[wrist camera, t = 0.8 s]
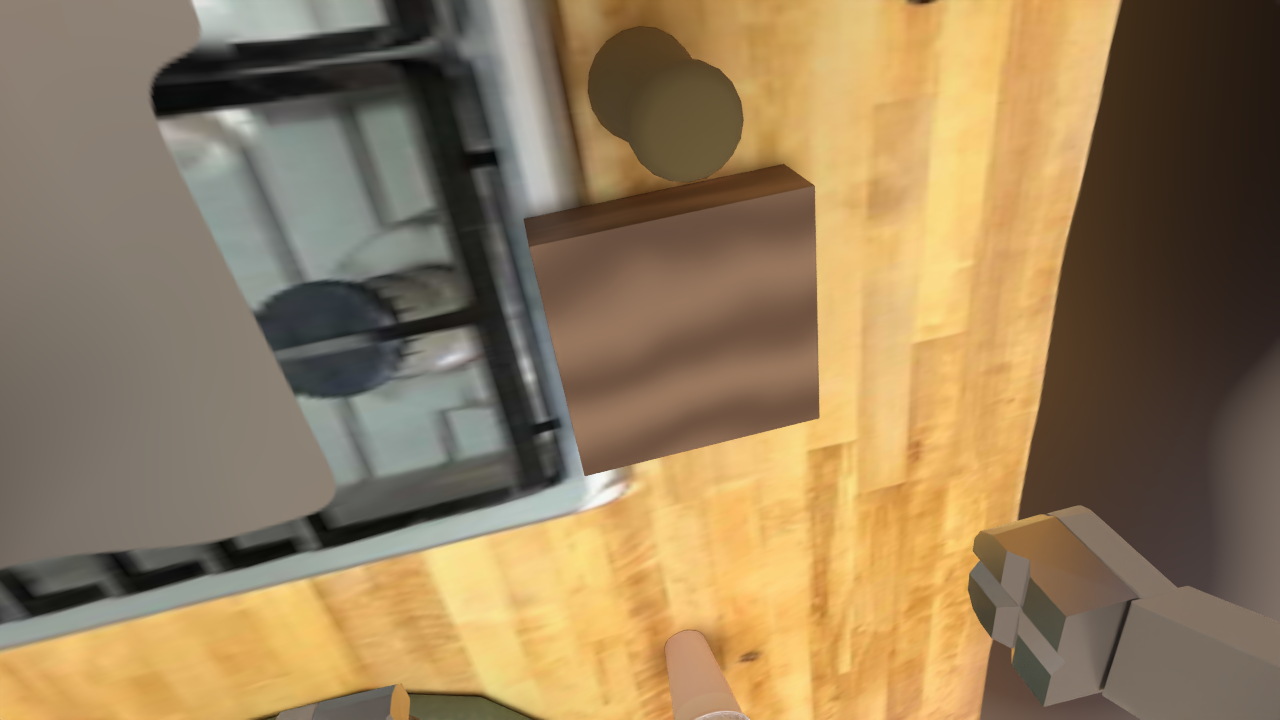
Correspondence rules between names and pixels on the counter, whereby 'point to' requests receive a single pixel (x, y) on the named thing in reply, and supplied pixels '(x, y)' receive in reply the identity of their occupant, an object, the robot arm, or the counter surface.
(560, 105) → the counter surface
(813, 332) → the block
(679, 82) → the brown tall round piece
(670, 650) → the smoothie
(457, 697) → the tea set
